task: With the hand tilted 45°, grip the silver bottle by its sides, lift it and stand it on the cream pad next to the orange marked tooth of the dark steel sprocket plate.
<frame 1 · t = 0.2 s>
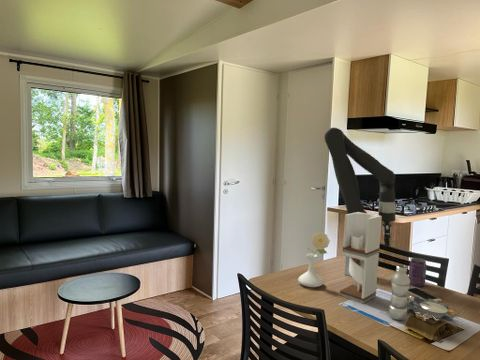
hand: (386, 244, 170), 18 cm above the table, tool pointing down, fingers open, 8 cm apart
silver bottle: (397, 318, 131), on the table
flower in vase: (312, 285, 161), on the table
smartphone: (421, 295, 155), on the table
display case: (357, 296, 151), on the table
sprocket plate: (426, 310, 139), on the table
beverage can: (416, 284, 166), on the table
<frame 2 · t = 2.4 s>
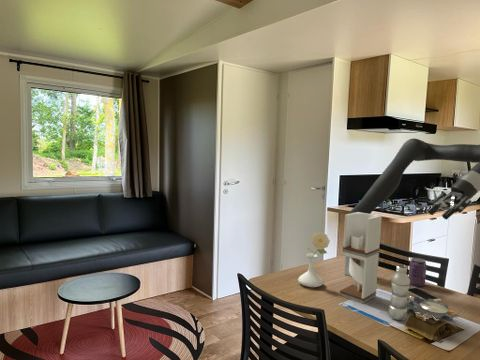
hand: (436, 215, 131), 39 cm above the table, tool tilted 45°, fingers open, 8 cm apart
nothing on the table moved.
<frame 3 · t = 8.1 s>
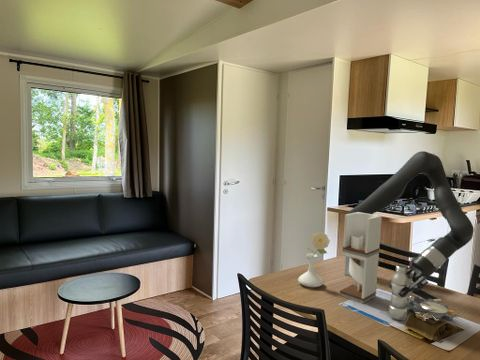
hand: (395, 291, 130), 10 cm above the table, tool tilted 45°, fingers closed on silver bottle, 6 cm apart
silver bottle: (397, 318, 131), on the table, touching gripper
everything else where it was.
when the fingers open (13 cm above the table, at t = 15.9 s): silver bottle drops 1 cm, resting on sprocket plate.
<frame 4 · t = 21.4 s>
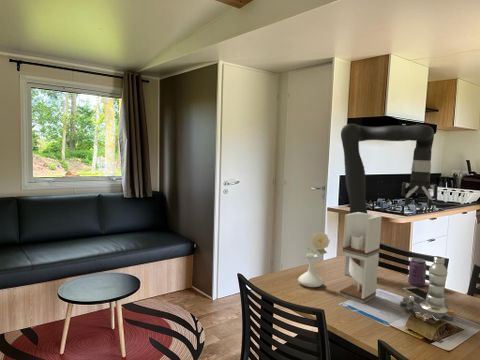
hand: (417, 206, 157), 38 cm above the table, tool pointing down, fingers open, 8 cm apart
silver bottle: (434, 307, 138), point 2 cm above the table, touching sprocket plate
everything else where it was.
at the end: silver bottle 0.3 cm from the target spot on the sprocket plate, point 1.6 cm above the sprocket plate's base; silver bottle tilted 0°; the gripper is holding nothing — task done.
